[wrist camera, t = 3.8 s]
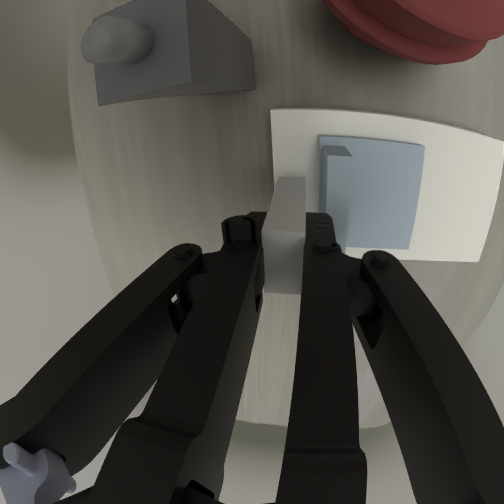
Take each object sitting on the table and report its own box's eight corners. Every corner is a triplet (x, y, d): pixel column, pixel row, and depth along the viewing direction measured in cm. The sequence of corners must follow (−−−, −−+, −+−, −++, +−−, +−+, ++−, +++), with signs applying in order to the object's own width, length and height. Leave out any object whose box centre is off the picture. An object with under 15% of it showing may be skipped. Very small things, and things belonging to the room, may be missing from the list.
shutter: (319, 134, 15) (323, 144, 12) (420, 144, 13) (445, 157, 10) (316, 240, 18) (318, 271, 15) (405, 243, 17) (421, 274, 14)
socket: (276, 107, 18) (270, 109, 15) (478, 132, 15) (505, 142, 11) (281, 229, 23) (276, 255, 20) (459, 238, 20) (478, 262, 17)
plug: (198, 48, 16) (58, 15, 4) (251, 40, 15) (157, -36, 4) (202, 94, 18) (62, 114, 6) (254, 89, 17) (162, 80, 6)
